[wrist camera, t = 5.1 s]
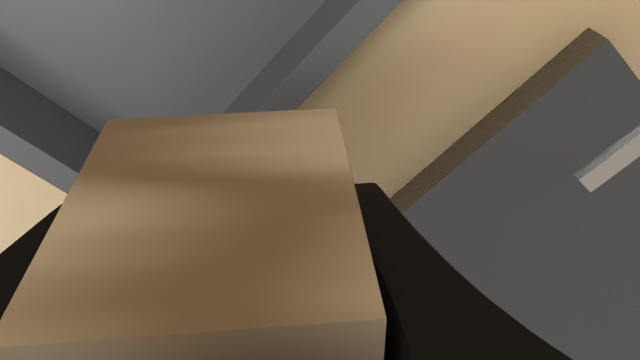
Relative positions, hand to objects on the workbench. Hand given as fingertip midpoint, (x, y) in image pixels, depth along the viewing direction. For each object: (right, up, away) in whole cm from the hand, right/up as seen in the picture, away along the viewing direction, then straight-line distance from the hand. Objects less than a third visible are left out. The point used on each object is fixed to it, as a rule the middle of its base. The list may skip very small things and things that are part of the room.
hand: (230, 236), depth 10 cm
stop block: (0, +1, +1) cm, 1 cm away
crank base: (+10, -4, +14) cm, 18 cm away
